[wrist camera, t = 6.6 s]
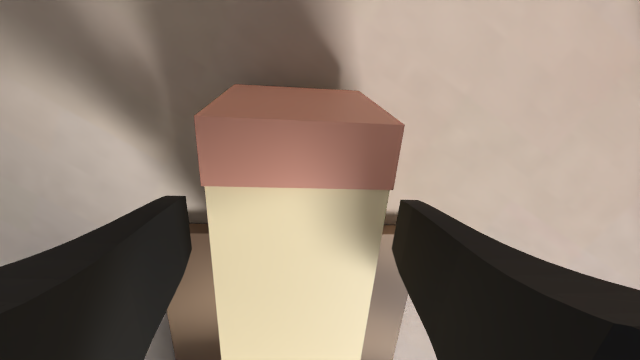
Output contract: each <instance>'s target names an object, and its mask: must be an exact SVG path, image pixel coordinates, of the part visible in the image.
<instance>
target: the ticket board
mask: <svg viewBox="0 0 640 360" xmlns="http://www.w3.org/2000/svg"><path fill="white" fill-rule="evenodd" d="M189 228H190V236H191V244H192V250H191V254H190V257H189V260H188V264H187V267H186V270H185V273H184V275H183V278H182V280H181V282H180V284H179V286H178V288H177V290H176V292H175V294H174V296H173V298H172V300H171V302H170V304H169V307H168V309H167V315H168V321H169V326H170V331H171V337H172V342H173V348H174V353H175V359H176V360H221V351H220V340H219V330H218V320H217V310H216V299H215V289H214V279H213V268H212V258H211V248H210V237H209V227H208V224H189ZM395 228H396V225H384V226H383V232H382V238H381V243H380V249H379V255H378V261H377V267H376V273H375V278H374V284H373V290H372V296H371V302H370V308H369V313H368V319H367V325H366V331H365V337H364V343H363V348H362V354H361V360H393V356H394V352H395V348H396V343H397V339H398V335H399V330H400V326H401V322H402V318H403V313H404V309H405V305H406V300H407V296H408V292H407V290H406V287H405V285H404V283H403V281H402V279H401V277H400V274H399V272H398V269H397V266H396V262H395V259H394V256H393V252H392V244H393V238H394V233H395Z"/></svg>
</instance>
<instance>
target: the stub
mask: <svg viewBox="0 0 640 360" xmlns="http://www.w3.org/2000/svg"><path fill="white" fill-rule="evenodd" d="M194 123H195V133H196V142H197V152H198V162H199V172H200V182H201V186H205V196H206V206H207V217H208V227H209V237H210V248H211V258H212V268H213V279H214V289H215V299H216V310H217V320H218V330H219V340H220V351H221V360H361V354H362V348H363V343H364V337H365V331H366V325H367V319H368V313H369V308H370V302H371V296H372V290H373V284H374V278H375V273H376V267H377V261H378V255H379V249H380V243H381V238H382V232H383V226H384V220H385V214H386V208H387V203H388V197H389V191H390V190H393V188H394V183H395V177H396V171H397V166H398V160H399V154H400V149H401V143H402V137H403V132H404V126H405V125H404V124H403V123H401V122H400V121H399V120H397V119H396V118H395V117H393V116H392V115H391V114H389V113H388V112H387V111H385V110H384V109H382V108H381V107H380V106H378V105H377V104H376V103H374V102H373V101H372V100H370V99H369V98H368V97H366V96H365V95H364V94H362V93H361V92H360V91H351V90H333V89H314V88H296V87H277V86H258V85H240V84H234V85H233V86H232V87H230V88H229V89H228V90H227V91H225V92H224V93H223V94H221V95H220V96H219V97H218V98H216V99H215V100H214V101H212V102H211V103H210V104H209V105H207V106H206V107H205V108H203V109H202V110H201V111H200V112H198V113H197V114H196V115H194Z"/></svg>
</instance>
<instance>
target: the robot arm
mask: <svg viewBox="0 0 640 360" xmlns="http://www.w3.org/2000/svg"><path fill="white" fill-rule="evenodd" d="M191 250H192V244H191V236H190V228H189V220H188V212H187V204H186V196H164V197H161V198H159V199H156V200H154V201H152V202H150V203H148V204H146V205H144V206H142V207H140V208H138V209H136V210H134V211H132V212H130V213H128V214H126V215H124V216H122V217H120V218H118V219H116V220H115V221H113V222H110V223H108V224H106V225H104V226H102V227H100V228H98V229H95V230H93V231H91V232H89V233H87V234H85V235H83V236H80V237H78V238H76V239H74V240H71V241H69V242H67V243H64V244H62V245H59V246H57V247H55V248H52V249H49V250H47V251H44V252H41V253H39V254H36V255H34V256H31V257H28V258H25V259H23V260H20V261H17V262H14V263H11V264H7V265H4V266H1V267H0V360H144V358H145V355H146V353H147V351H148V348H149V346H150V344H151V341H152V339H153V337H154V335H155V333H156V331H157V329H158V327H159V325H160V323H161V321H162V319H163V317H164V315H165V313H166V311H167V309H168V307H169V304H170V302H171V300H172V298H173V296H174V294H175V292H176V290H177V288H178V286H179V284H180V282H181V280H182V278H183V275H184V273H185V270H186V267H187V264H188V260H189V257H190V254H191ZM392 252H393V256H394V259H395V262H396V266H397V269H398V272H399V274H400V277H401V279H402V281H403V283H404V285H405V287H406V290H407V292H408V294H409V296H410V298H411V300H412V302H413V304H414V306H415V308H416V311H417V313H418V315H419V317H420V319H421V321H422V323H423V325H424V327H425V329H426V332H427V334H428V336H429V339H430V341H431V343H432V346H433V349H434V351H435V354H436V357H437V360H640V290H637V289H633V288H630V287H626V286H622V285H619V284H615V283H611V282H608V281H604V280H601V279H598V278H594V277H591V276H588V275H585V274H581V273H578V272H575V271H573V270H570V269H567V268H564V267H561V266H558V265H555V264H552V263H549V262H547V261H544V260H541V259H539V258H536V257H534V256H531V255H529V254H526V253H524V252H521V251H519V250H517V249H514V248H512V247H510V246H507V245H505V244H503V243H501V242H499V241H497V240H495V239H493V238H490V237H488V236H486V235H484V234H482V233H480V232H478V231H476V230H474V229H473V228H471V227H469V226H467V225H465V224H463V223H461V222H459V221H458V220H456V219H454V218H452V217H450V216H449V215H447V214H445V213H443V212H441V211H439V210H438V209H436V208H434V207H432V206H430V205H428V204H426V203H424V202H421V201H419V200H401V201H400V206H399V212H398V217H397V222H396V228H395V233H394V238H393V244H392Z"/></svg>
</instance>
